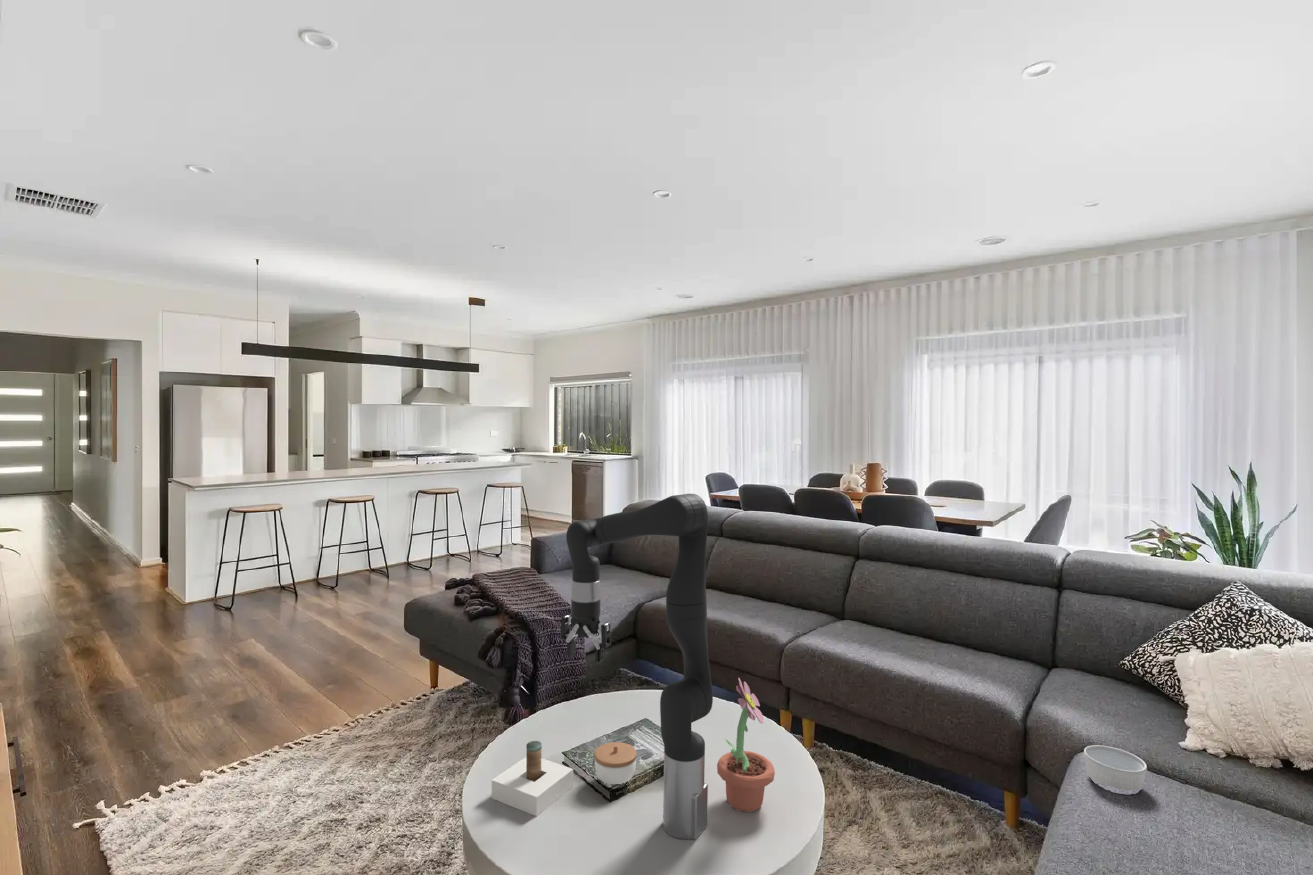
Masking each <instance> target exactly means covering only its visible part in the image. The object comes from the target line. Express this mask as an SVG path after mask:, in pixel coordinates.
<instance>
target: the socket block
mask: <svg viewBox="0 0 1313 875" xmlns="http://www.w3.org/2000/svg"><path fill="white" fill-rule="evenodd" d="M526 761H527V756H525V757H524V758H522V759H521V760H519V761H518V762H516V763H515V764H513V765H512V766H510V767H508V768H507V769H506V770H504V771H503V772H501V773H500V774H498V775H497V776H495V778H493V779H491V799H492V800H495V801H498V802H500V803H502V804H504V805H507V806H510V807H513V808H515V809H517V810H520V811H522V812H525V813H527V814H529V815H531V816H532V815H533V816H535V817H538V816H539V815H540V814H542V812H544V811H545V810H547V808H549V807H550V806H551V805H553V804H554V803H555V802H556V801H558V799H560V798H561V797H562V796H564V795H565V794H566V793H568V792H569V791H570V790H571V789H572V788H573V787H574V768H571V767H570V766H566V765H563V764H561V763H557V762H554V761H551V760H548V759H545V758H543V757H541V777H540V778H539V779H538V780H536V781H535V782H533V781H531V780H528V779H526Z"/></svg>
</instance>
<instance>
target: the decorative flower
mask: <svg viewBox="0 0 1313 875" xmlns="http://www.w3.org/2000/svg"><path fill="white" fill-rule="evenodd" d="M738 684H739V685H738ZM738 684H737V685H736V688H735V689H736V691H737V693H738V694H739V695H740V696H741V697H742V698H741V697H739V698H737V702H738V704H739V706H740V708H741V710H742V711H741V713H740V716H739V720H738V724H737V729H736V731H737V732H736V740H735V742H736V745H734V744H733V743H731V741H730V740H728V739H726V738H725V739H724V740H725V742H726V743H727V744H728V745H729V746H730V747H732V748H731V749H730V752H727V753H725V754H723V755H722V756H721V757H720V758H719V759H718V761H717V763H716V767H717V768H716V772H717V774H718V776H719V777H720V778H721V780H723V781H724V782H725V795H726V796H725V797H726V801H727V802H728V805H729V806H730V807H731V808H733V809H735V810H737V811H740V812H743V813H744V812H745V813H752V812H755V811H758V810H759V809H760V808H761V807H762V806H763V801H764V797H765V796H764V795H765V789H766V788H765V787H768V785H770V784H771V783H773V782H774V779H775V776H776V772H775V767H774V765H773V763H772V762H771V761H770V760H769V758H766V757H765V756H764V755H761V754H760V753H757V752H754V751H749V750H744V745H745V733H747V732H748V730H749V728H748V726H747V722H748V718H749V719H751V720H752V721H756V719H757V721H758V722H759V723H760V724H763V723H764V722H765V721H764V715H763V713H762V712H761V710H760V709H759V708H758V707H760V706H761V704H760V701H759V699H758V698H757V696H756V694H754V693H751V689H750V686H749V685H748V683H747V682H746V681H743V683H742V681H741V679H740V677H738ZM751 811H752V812H751Z"/></svg>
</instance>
